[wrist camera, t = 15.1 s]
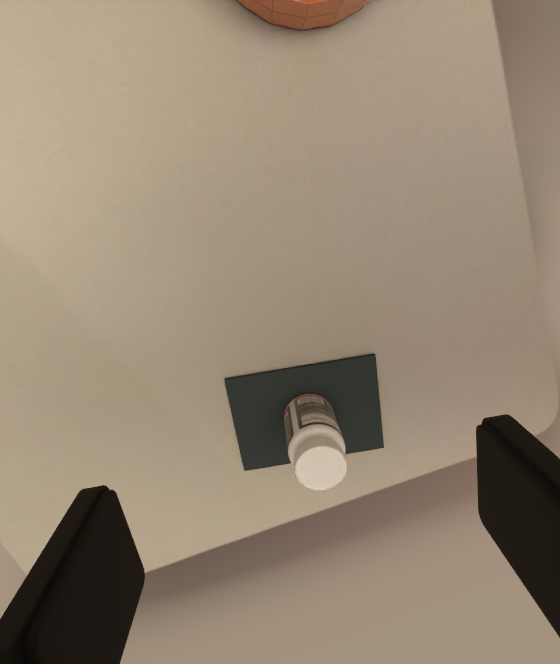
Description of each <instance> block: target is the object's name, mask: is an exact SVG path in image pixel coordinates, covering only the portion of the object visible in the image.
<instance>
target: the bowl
mask: <svg viewBox="0 0 560 664" xmlns="http://www.w3.org/2000/svg"><path fill="white" fill-rule="evenodd" d="M238 1H239V2H240V3H241V4H242V5H243V6H244V7H246V8H247V9H249V10H251V11H252V12H254V13H255V14H257V15H259V16H260V17H262V18H264V19H265V20H267V21H268V22H271V23H272V24H277V25H282V26H287V27H292V28H296V29H309V28H315V27H321V26H327V25H332V24H335V23H337V22H338V21H340V20H342V19H344V18H345V17H347V16H349V15H350V14H352V13H354V12H356V11H357V10H359V9H361V8H362V7H363V6H364V5H365V4H366V3H367V1H368V0H238Z"/></svg>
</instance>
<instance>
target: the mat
mask: <svg viewBox="0 0 560 664" xmlns="http://www.w3.org/2000/svg"><path fill="white" fill-rule="evenodd" d="M225 385H226V389H227V394H228V398H229V403H230V407H231V412H232V416H233V421H234V425H235V430H236V434H237V439H238V443H239V448H240V452H241V457H242V461H243V466H244V470H245V471H247V470H253V469H259V468H265V467H271V466H277V465H283V464H289V463H291V462H290V459H289V455H288V449H287V441H286V432H285V424H284V413H285V410H286V407H287V406H288V404H289V403H290V402H291V401H292V400H293V399H295V398H296V397H298V396H301V395H304V394H315V395H319V396H321V397H323V398H324V399H325V400H327V401H328V403H329V404H330V405H331V407H332V409H333V412H334V415H335V418H336V421H337V423H338V426H339V429H340V431H341V434H342V437H343V439H344V443H345V454H349V453H355V452H361V451H367V450H373V449H379V448H384V444H383V433H382V422H381V411H380V400H379V389H378V378H377V367H376V357H375V354H369V355H363V356H358V357H352V358H346V359H340V360H334V361H328V362H322V363H316V364H310V365H304V366H298V367H292V368H286V369H280V370H274V371H268V372H262V373H256V374H250V375H244V376H238V377H232V378H226V379H225Z"/></svg>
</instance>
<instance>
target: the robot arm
mask: <svg viewBox="0 0 560 664" xmlns="http://www.w3.org/2000/svg"><path fill="white" fill-rule="evenodd" d="M476 443H477V478H478V510H479V515H480V518H481V521H482V523H483V525H484V526H485V528H486V530H487V531H488V533H489V534H490V535H491V537H492V538H493V540H494V541H495V543H496V544H497V546H498V547H499V549H500V550H501V552H502V553H503V555H504V556H505V558H506V559H507V560H508V562H509V563H510V565H511V566H512V568H513V569H514V571H515V572H516V574H517V575H518V577H519V578H520V579H521V581H522V583H523V584H524V586H525V587H526V589H527V590H528V591H529V593H530V594H531V596H532V597H533V599H534V600H535V602H536V603H537V605H538V606H539V608H540V609H541V611H542V612H543V613H544V615H545V616H546V618H547V619H548V621H549V622H550V624H551V625H552V627H553V628H554V630H555V631H556V632H557V634H558V635H559V637H560V459H559V458H558V457H557V456H556V455H555V454H554V453H553V452H551V451H550V450H549V449H548V448H547V447H546V446H544V445H543V444H542V443H541V442H540V441H539V440H538V439H537V438H535V437H534V436H533V435H532V434H531V433H530V432H529V431H527V430H526V429H525V428H524V427H523V426H522V425H520V424H519V423H518V422H517V421H516V420H515V419H514V418H512V417H511V416H510V415H507V414H505V415H500V416H494V417H488V418H484V419H483V421H482V425H478V426H477V428H476ZM144 576H145V573H144V568H143V565H142V562H141V559H140V557H139V554H138V551H137V548H136V546H135V543H134V540H133V538H132V535H131V532H130V529H129V527H128V524H127V521H126V518H125V516H124V513H123V510H122V508H121V505H120V502H119V499H118V497H117V494H116V492H115V491H114V490H109V488H108V487H107V486H104V485H103V486H98V487H92V488H86V489H82V490H81V491H80V492H79V493H78V495H77V496H76V498H75V499H74V501H73V503H72V504H71V506H70V507H69V509H68V511H67V512H66V514H65V516H64V517H63V519H62V520H61V522H60V524H59V525H58V527H57V528H56V530H55V532H54V533H53V535H52V537H51V538H50V540H49V541H48V543H47V545H46V546H45V548H44V549H43V551H42V553H41V554H40V556H39V558H38V559H37V561H36V562H35V564H34V566H33V567H32V569H31V570H30V572H29V574H28V575H27V577H26V579H25V580H24V582H23V583H22V585H21V587H20V588H19V590H18V591H17V593H16V595H15V596H14V598H13V599H12V601H11V603H10V604H9V606H8V608H7V609H6V611H5V612H4V614H3V616H2V617H1V619H0V664H120V661H121V657H122V654H123V651H124V648H125V644H126V641H127V638H128V635H129V631H130V628H131V625H132V621H133V618H134V615H135V611H136V608H137V605H138V602H139V598H140V595H141V592H142V589H143V585H144V579H145V577H144Z"/></svg>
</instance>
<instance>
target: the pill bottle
mask: <svg viewBox="0 0 560 664" xmlns="http://www.w3.org/2000/svg"><path fill="white" fill-rule="evenodd" d="M284 424H285V432H286V441H287V449H288V455H289V459H290V462H291V463H292V465H293V466H294V469H295V474H296V477H297V479H298V480H299V482H300V483H301V484H302V485H304V486H305V487H307V488H310V489H313V490H326V489H329V488H332V487H334V486H336V485H337V484H338V483H339V482H341V480H342V479H343V478H344V476H345V474H346V470H347V463H346V459H345V443H344V439H343V437H342V434H341V431H340V429H339V426H338V423H337V421H336V418H335V415H334V412H333V409H332V407H331V405H330V404H329V403H328V401H327V400H325V399H324V398H323V397H321V396H319V395H315V394H304V395H301V396H298V397H296V398H295V399H293V400H292V401H291V402H290V403H289V404H288V406H287V407H286V410H285V413H284Z"/></svg>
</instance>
